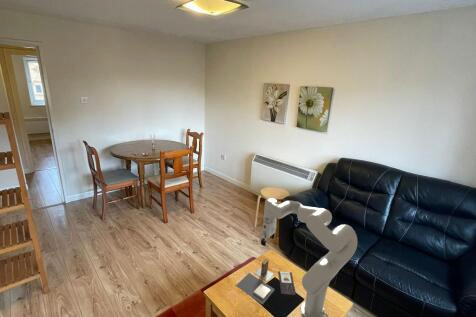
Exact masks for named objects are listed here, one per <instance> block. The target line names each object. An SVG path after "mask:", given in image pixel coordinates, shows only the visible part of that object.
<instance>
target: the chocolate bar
mask: <svg viewBox="0 0 476 317" xmlns="http://www.w3.org/2000/svg"><path fill="white" fill-rule="evenodd" d="M277 272H278V280H279V281H278V282H279V289H280V294H281V295H287V296H288V295H289V296H293V297H294V296H295V297H296V296H297V293H296V287H295V283H294V277H293V273H292V271H277Z"/></svg>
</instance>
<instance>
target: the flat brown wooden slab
mask: <svg viewBox="0 0 476 317" xmlns="http://www.w3.org/2000/svg"><path fill="white" fill-rule="evenodd" d="M260 267H261V275H262V276H264V275H265V274H266V273H267V271H269V270H268V269H269V259H268V258H265V259H264V260H263V261H262V262H261V266H260Z"/></svg>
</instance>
